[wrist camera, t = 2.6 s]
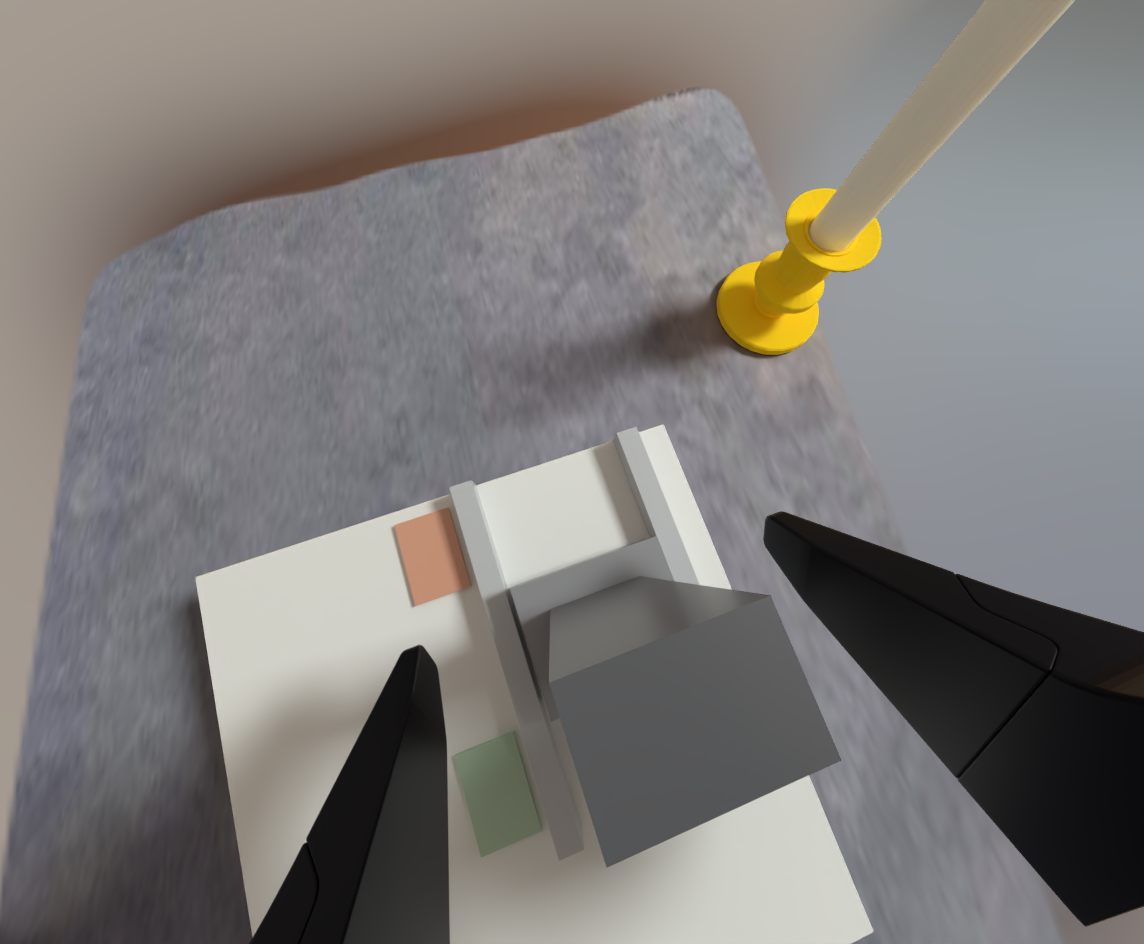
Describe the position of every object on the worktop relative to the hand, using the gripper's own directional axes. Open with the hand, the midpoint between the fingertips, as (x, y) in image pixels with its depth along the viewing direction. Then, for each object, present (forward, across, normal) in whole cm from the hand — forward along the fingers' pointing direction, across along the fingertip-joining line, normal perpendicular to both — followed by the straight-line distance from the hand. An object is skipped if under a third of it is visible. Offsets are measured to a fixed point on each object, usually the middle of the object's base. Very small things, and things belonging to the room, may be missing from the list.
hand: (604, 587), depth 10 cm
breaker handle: (+3, 0, +5) cm, 5 cm away
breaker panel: (+3, +4, +9) cm, 10 cm away
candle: (+13, -14, -1) cm, 19 cm away
